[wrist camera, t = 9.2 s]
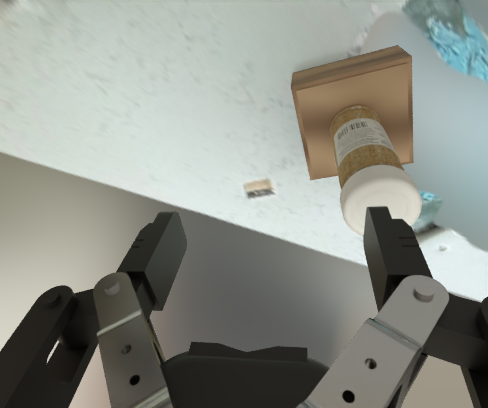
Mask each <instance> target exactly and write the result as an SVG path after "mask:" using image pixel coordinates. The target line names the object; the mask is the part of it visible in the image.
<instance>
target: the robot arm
mask: <svg viewBox="0 0 488 408" xmlns="http://www.w3.org/2000/svg"><path fill="white" fill-rule="evenodd" d="M363 241H364V251H365V255H366V260H367V264H368V268H369V273H370V278H371V282H372V286H373V291H374V295H375V300H376V304H377V309H378V314H377V316H376V317H375V318H374V319H371V318H369V319H367V320H366V321H365V322H364V324H363V325H362V326H361V328H360V329H359V330H358V332H357V333H356V334H355V336H354V337H353V338H352V339H351V341H350V342H349V343H348V345H347V346H346V347H345V349H344V350H343V352H342V353H341V354H340V355H339V357H338V358H337V360H336V361H335V362H334V363H333V365H332V366H331V367H330V368H329V367H328V366H326V365H324V364H323V363H321V362H319V361H317V360H315V359H312V358H309V357H307V348H300V347H280V346H278V347H272V348H266V349H262V350H256V351H251V352H244V351H240V350H237V349H234V348H231V347H228V346H225V345H222V344H219V343H203V342H191V345H190V349H189V351H187V352H184V353H181V354H178V355H176V356H174V357H172V358H170V359H169V360H166V358H165V356H164V353H163V351H162V348H161V346H160V343H159V340H158V337H157V335H156V333H155V330H154V327H153V324H152V322H151V319H150V314H151V312H152V310H155V311H162V310H163V307H164V305H165V302H166V300H167V297H168V295H169V292H170V290H171V287H172V284H173V282H174V279H175V277H176V274H177V272H178V269H179V267H180V264H181V261H182V259H183V256H184V254H185V251H186V247H187V239H186V235H185V232H184V229H183V226H182V223H181V220H180V217H179V214H178V212H176V211H175V212H160V213H158V215H157V217H156V219H155V220H154V222H153V223H149V224H148V225H147V226H145V227H144V228H143V229H142V230H141V231H140V232H139V234H138V236H137V237H136V239H135V241H134V242H133V244H132V246H131V248H130V250H129V251H128V253H127V255H126V256H125V258H124V259H123V261H122V263H121V265H120V267H119V268H118V270H117V271H116V273H112V274H109V275H107V276H105V277H104V278H102V279H101V280H100V281H99V282H98V283H97V284H96V285H95V287H94V289H90V290H86V291H82V292H79V293H73V291H72V289H71V288H70V287H68V286H63V285H62V286H57V287H54V288H51V289H50V290H48V291H46V292H45V293H43V294H42V295H41V296H40V297H39V298H38V299H37V300H36V302H35V303H34V305H33V306H32V307H31V309H30V310H29V312H28V313H27V314H26V316H25V317H24V319H23V320H22V322H21V323H20V324H19V326H18V327H17V329H16V330H15V331H14V333H13V334H12V336H11V337H10V339H9V340H8V341H7V343H6V344H5V346H4V347H3V348H2V350H1V351H0V408H68V407H69V405H70V403H71V401H72V399H73V397H74V394H75V392H76V390H77V388H78V386H79V384H80V382H81V379H82V377H83V375H84V373H85V371H86V368H87V366H88V364H89V362H90V360H91V358H92V356H93V354H94V351H95V349H96V347H97V345H98V343H99V348H100V353H101V358H102V363H103V368H104V373H105V378H106V383H107V388H108V393H109V398H110V403H111V408H401V406H402V404H403V401H404V399H405V397H406V395H407V393H408V391H409V389H410V388H411V386H412V384H413V382H414V381H415V379H416V377H417V375H418V373H419V371H420V370H421V368H422V366H423V364H424V363H425V361H426V359H427V357H428V355H430V356H433V357H436V358H439V359H442V360H445V361H448V362H451V363H454V364H457V365H460V366H461V370H462V373H463V376H464V379H465V382H466V385H467V388H468V391H469V394H470V397H471V400H472V403H473V406H474V408H488V297H486V298H485V299H484V300H483V301H482V303H480V302H476V301H472V300H469V299H465V298H461V297H458V296H455V295H453V294H450V293H448V292H447V290H446V288H445V287H444V286H443V285H442V284H441V283H439V282H438V281H436V280H434V279H433V277H432V275H431V272H430V270H429V268H428V265H427V263H426V260H425V258H424V256H423V253H422V251H421V249H420V247H419V244H418V241H417V239H416V237H415V234H414V232H413V230H412V227H411V226H410V225H408V224H407V223H406V222H405V221H404V220H403V219H392V217H391V214H390V212H389V209H388V207H387V206H375V207H367V209H366V216H365V226H364V237H363ZM57 340H58V341H59V343H58V345H57V347H56V349H55V351H54V353H53V354H52V356H51V358H50V359H49V361H48V363H47V358H48V356H49V354H50V352H51V351H52V349H53V347H54V345H55V344H56V342H57ZM46 364H47V365H46Z"/></svg>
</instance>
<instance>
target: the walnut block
mask: <svg viewBox="0 0 488 408" xmlns="http://www.w3.org/2000/svg"><path fill="white" fill-rule="evenodd" d="M291 90H292V94H293V99H294V104H295V109H296V113H297V118H298V123H299V128H300V132H301V137H302V142H303V147H304V151H305V156H306V161H307V166H308V171H309V175H310V180H315V179H320V178H326V177H332V176H338V171H337V168H336V165H335V159H334V153H333V148H334V147H333V141H332V139H331V136H330V126H331V123H332V121H333V119H334V118H335V116H336V115H337V114H338V113H339V112H340V111H342V110H343V109H345V108H348V107H350V106H354V105H362V106H366V107H369V108H371V109H372V110H374V111H375V112H376V113H377V115H378V116H379V119H380V124H381V126H382V127H383V128H384V130H385V132H386V134H387V136H388V138H389V140H390V142H391V144H392V145H393V148H394V150H395V151H396V153H397V155H398V157H399V159H400V163H401V165H403V164H408V163H413V116H412V114H413V113H412V56H411V55H410V54H408V53H407V52H406V51H404V50H403V49H402V48H400V47H399V46H398V45H397V46H393V47H389V48H386V49H382V50H378V51H374V52H371V53H367V54H363V55H359V56H355V57H352V58H348V59H344V60H340V61H337V62H333V63H329V64H325V65H322V66H318V67H314V68H310V69H307V70H303V71H299V72H295V73H293V74H292V82H291Z"/></svg>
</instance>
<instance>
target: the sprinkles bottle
mask: <svg viewBox="0 0 488 408" xmlns="http://www.w3.org/2000/svg"><path fill="white" fill-rule="evenodd" d="M330 136H331V139H332V141H333V147H334V148H333V153H334V159H335V165H336V168H337V171H338V176H339V182H340V186H341V195H340V203H341V208H342V213H343V217H344V220H345V222H346V223H347V225H348V226H349V227H350V228H351V229H352V230H353V231H355V232H356V233H358V234H360V235H362V236H364V226H365V216H366V209H367V207H375V206H387V207H388V209H389V212H390V214H391V217H392V219H403V220H404V221H405V222H406V223H407V224H408V225H410V226H411V225H412V224H413V223H414V222H415V221H416V220H417V218H418V216H419V214H420V212H421V208H422V200H421V196H420V194H419V191H418V189H417V187H416V185H415V183H414V182H413V180H412V178H411V177H410V176H409V175H408V174H407V173H406V172H405V171H404V169H403V167H402V166H401V163H400V159H399V157H398V155H397V153H396V151H395V150H394V148H393V145H392V144H391V142H390V140H389V138H388V136H387V134H386V132H385V130H384V128H383V127H382V126H381V124H380V119H379V116H378V115H377V113H376V112H375V111H374V110H372V109H371V108H369V107H366V106H362V105H354V106H350V107H348V108H345V109H343V110H342V111H340V112H339V113H338V114H337V115H336V116H335V118H334V119H333V121H332V123H331V126H330Z"/></svg>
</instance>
